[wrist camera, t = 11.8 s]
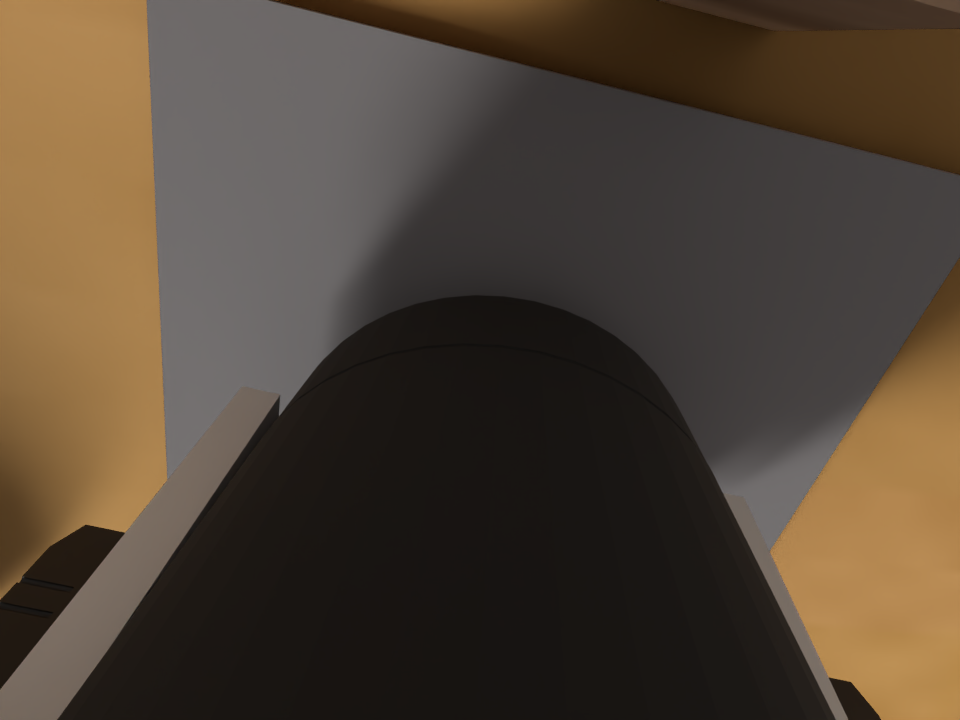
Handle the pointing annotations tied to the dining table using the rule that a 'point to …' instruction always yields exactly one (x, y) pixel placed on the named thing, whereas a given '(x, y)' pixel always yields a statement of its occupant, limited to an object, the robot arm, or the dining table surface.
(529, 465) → the pen holder
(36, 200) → the dining table surface
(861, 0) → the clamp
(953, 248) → the mat
